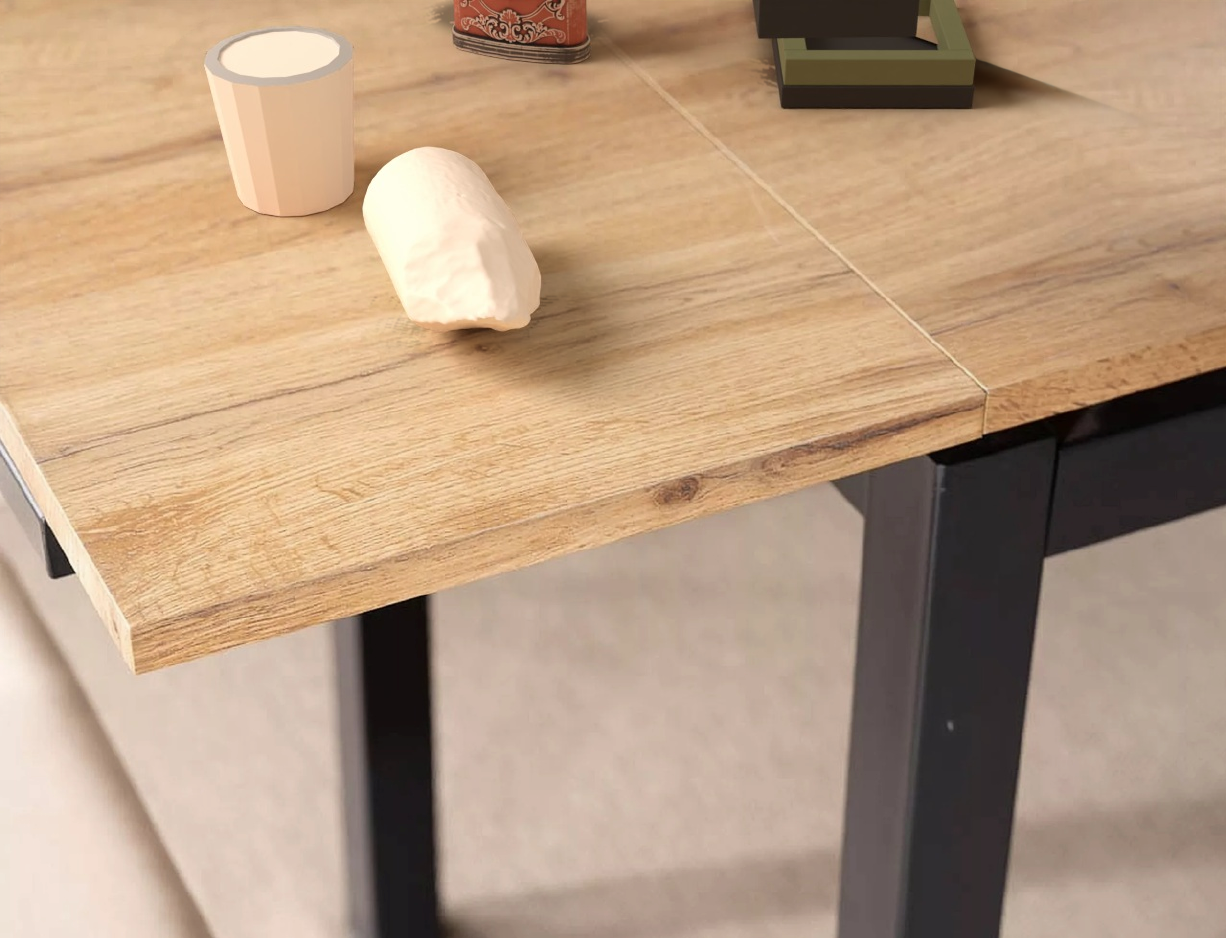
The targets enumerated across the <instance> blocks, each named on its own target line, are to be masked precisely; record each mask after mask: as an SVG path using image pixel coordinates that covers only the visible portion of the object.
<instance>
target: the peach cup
mask: <svg viewBox="0 0 1226 938" xmlns="http://www.w3.org/2000/svg"><path fill="white" fill-rule="evenodd" d="M354 62H355V61H354V45H353V44H352V43H351V42H350V41H349V40H348V39H347V38H346V37H345V36H344V35H341V34H339V33H336V32H333V31H331V30H328V29H325V28H319V27H313V26H312V27H311V26H305V25H284V26H283V25H281V26H268V27H262V28H257V29H256V28H255V29H252V30H246V31H242V32H240V33H237V34H235V35H232V36H230V37H226V38H224V39H222V40H220V41H218V42H217V43H216V44H215V45H214V46H212V47H211V48H210V49H209V50H208V51H206V54H205V58H204V61H203V65H204V69H205V73H206V78H207V82H208V84H209V85H208V86H209V89H210V92H211V98H212V101H213V106H214V110H215V113H216V117H217V120H218V124H219V128H220V132H221V136H222V140H223V144H224V148H225V152H226V155H227V159H228V163H229V168H230V171H231V175H232V179H233V183H234V187H235V190H236V195H237V197H238V199H239V200H240V202H241V204H243V206H244V207H246V208H248V209H250V210H251V211H255V212H256V213H258V214H263V215H269V216H274V217H302V216H308V215H313V214H316V213H321V212H325V211H328V210H330V209H333V208H334V207H336V206H338V205H340V204H342V203H344V202H345V201H346V200H347V199H348V198H349V197H350V196H351V195H352V194H353V193H354V187H355V90H354V87H355V86H354V85H355V84H354V83H355V80H354V78H355V77H354V76H355V75H354V74H355V73H354V69H355V67H354V65H355V64H354Z"/></svg>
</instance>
